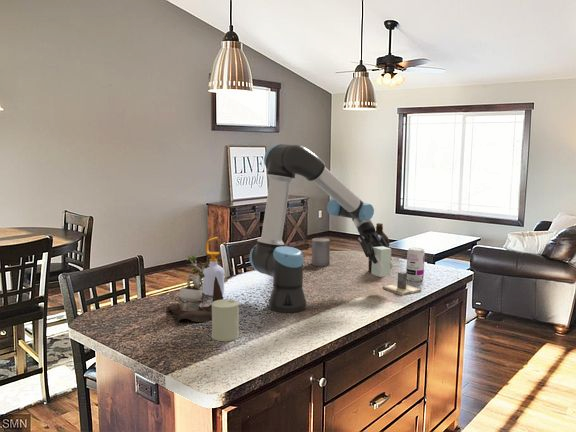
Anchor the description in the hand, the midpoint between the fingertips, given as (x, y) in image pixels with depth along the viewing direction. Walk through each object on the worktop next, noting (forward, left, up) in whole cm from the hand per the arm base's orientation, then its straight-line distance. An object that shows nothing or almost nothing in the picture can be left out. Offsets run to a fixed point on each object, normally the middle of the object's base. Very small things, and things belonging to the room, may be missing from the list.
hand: (386, 268), depth 226 cm
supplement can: (+32, +5, -12) cm, 34 cm away
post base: (+11, -1, -11) cm, 16 cm away
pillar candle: (+22, +57, -12) cm, 62 cm away
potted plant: (-75, +34, -12) cm, 83 cm away
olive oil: (+31, +26, -12) cm, 42 cm away
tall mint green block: (+1, +4, -4) cm, 5 cm away
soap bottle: (-54, +52, -12) cm, 76 cm away
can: (-82, +9, -12) cm, 84 cm away
